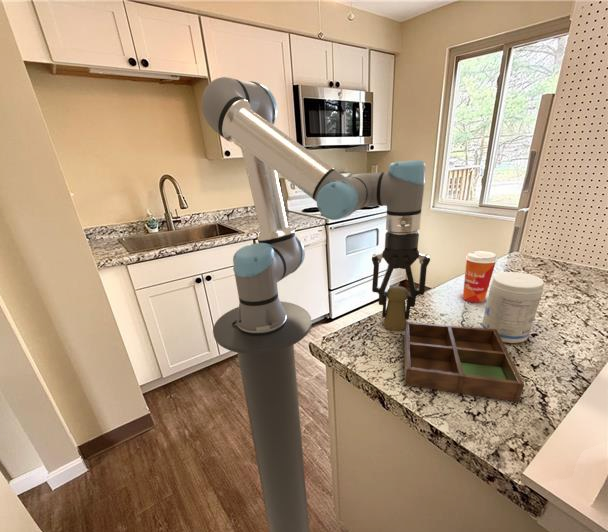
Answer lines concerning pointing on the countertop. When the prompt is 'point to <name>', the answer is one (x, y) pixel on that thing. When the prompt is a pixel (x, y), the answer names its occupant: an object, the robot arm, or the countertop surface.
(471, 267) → the paper cup
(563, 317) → the countertop surface
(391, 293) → the cork
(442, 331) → the grid
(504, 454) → the countertop surface
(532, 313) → the supplement tub
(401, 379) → the countertop surface
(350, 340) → the countertop surface
